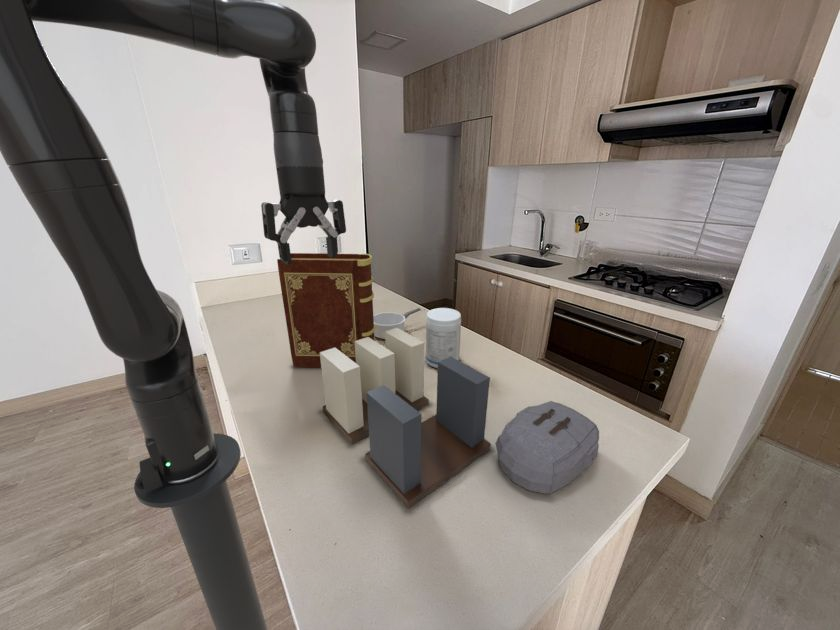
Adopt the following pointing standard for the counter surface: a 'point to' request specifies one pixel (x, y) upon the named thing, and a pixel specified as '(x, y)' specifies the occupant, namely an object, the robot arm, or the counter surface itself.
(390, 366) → the cream book
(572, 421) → the grey rounded bag
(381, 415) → the grey book left
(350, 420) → the cream book left
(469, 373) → the grey book right
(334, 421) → the book rack
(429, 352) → the supplement tub
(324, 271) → the decorative book
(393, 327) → the saucepan
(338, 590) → the counter surface
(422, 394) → the cream book right
